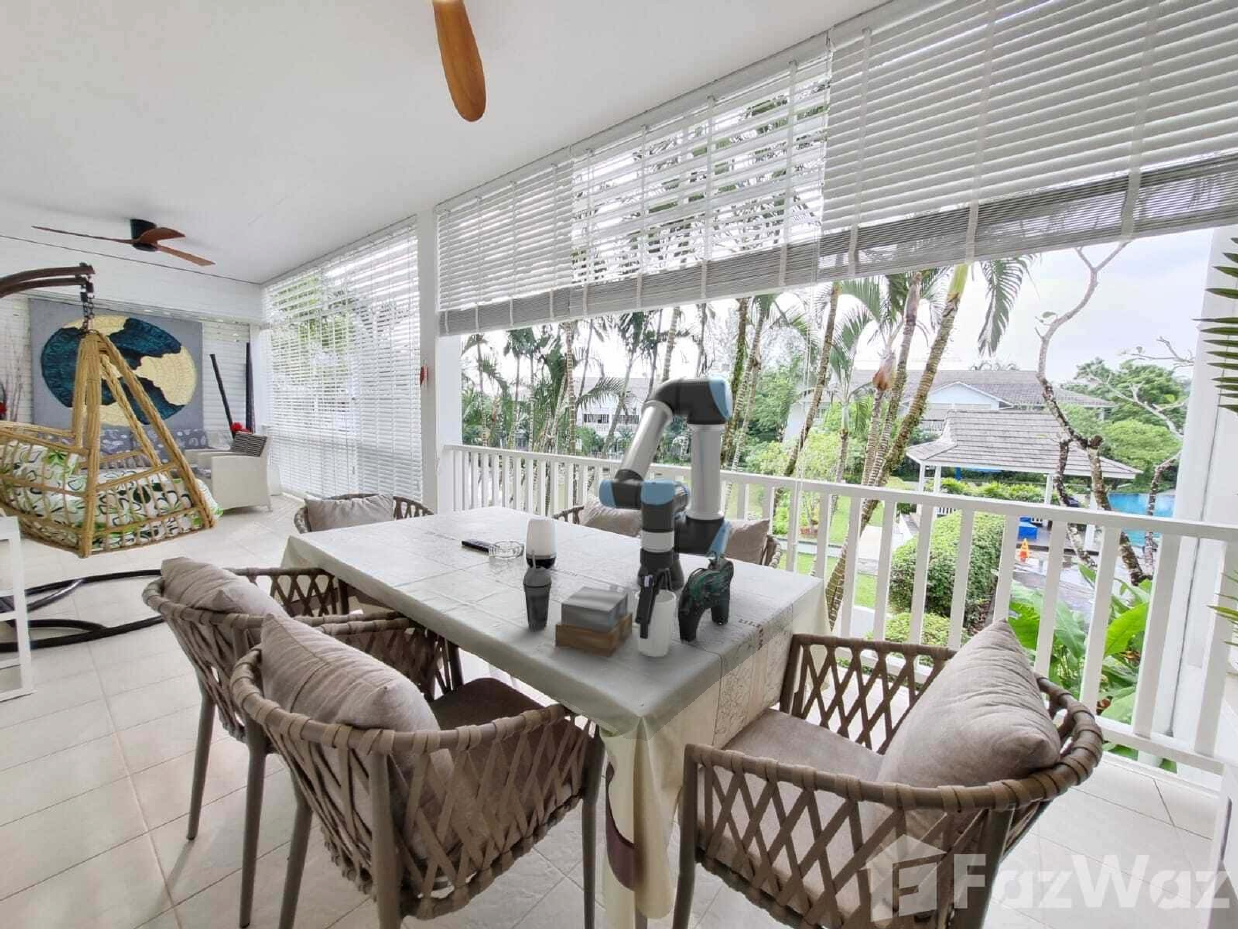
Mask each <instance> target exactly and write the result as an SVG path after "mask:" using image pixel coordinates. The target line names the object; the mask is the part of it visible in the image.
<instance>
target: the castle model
mask: <svg viewBox="0 0 1238 929" xmlns="http://www.w3.org/2000/svg"><path fill="white" fill-rule="evenodd" d="M618 588H619V586H618V584H610V586H609V591H615V592H618ZM621 593H628V609H627V611H629V612H633V618H632V627H638V624H637V623H635V618H636V607H635V595H634V589H633V588H632V587H630V586H629V585H628V586H625V587H624V588H623V590H622V591H621Z"/></svg>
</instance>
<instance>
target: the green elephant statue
mask: <svg viewBox="0 0 1238 929" xmlns="http://www.w3.org/2000/svg"><path fill="white" fill-rule="evenodd" d="M712 552H714V553H715V556H716V558H710V557H709V555H710V553H712ZM707 557H708V561H709V562H708V565H707V567H706V568H705V567H704V568H703V567H698V568H696V569H694V570H693V571H692V572H691V573H689V576H688V578H687V581H686V582H685V583H684V585H683V588H682V591H681V593H680V597H679V601H678V603H677V604H678V606H677V620H678V628H679V639H680V640H681V641H683V642H686V643H691V642H694V641H695V640H696V639H697V635H698V634H697V633H698V628H699V623H700V621H701V618H702V616H703V615H704V613H705V612H706V611H707V610H709V609H710V614H711V615H710V616H711V617H710V618H711V621H712V622H713V621H714V623H715V622H716V624H718V623H721V624H722V625H723V623H724V624H725V623H727V622H728V621H729V616H730V615H729V614H730V601H731V582H732V580H733V577H734V575H735V574H734V573H735V567H734V566H735V565H734V563H733V561H731V560H729V559H727V558H726V557H725V556H724V553H723V554H722V553H721V556H720V557H719V558H717V554H716V552H715V551H709V552H708V554H707ZM726 621H727V622H726ZM721 624H720V625H721Z"/></svg>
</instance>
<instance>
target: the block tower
mask: <svg viewBox="0 0 1238 929" xmlns="http://www.w3.org/2000/svg"><path fill="white" fill-rule="evenodd" d="M560 605H561V606H560V607H561V608H560V609H561V610H560V613H561V614H560V620H559V621H558V622H557V623H555V627H554V629H555V630H554V632H555V633H554V634H555V635H554V637H555V638H554V639H555V640H554V641H555V642H554V644H555V646H557V647H562V648H566V647H567V648H566V649H570V650H571V649H572V650H575V651H576V650H577V651H580V650H581V651H580V652H584V653H585V652H586V653H590V654H595V655H600V656H604V657H608V658H611V657H612V656H613V655H614V654H615V653H616V651H617V650H618V649H619V648H620V647H621V646H622V644H623V643H624V642H625V641H626V640H627V638H628V637H629V636H630V635H631V634H632V633H633V626H632V622H633V621H632V618H633V612H629V611H627V609H628V593H622V591H617V592H615V591H610V589H609V590H608V589H607V590H606V589H604V588H603V589H601V588H596V587H589V586H583V587H581V588H580V589H579V590H577V591H575V592H574V593H573V594H571V595H570V596H568V598H566V599H565V600H563V601H562V602H561V604H560Z"/></svg>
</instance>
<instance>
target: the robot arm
mask: <svg viewBox="0 0 1238 929" xmlns="http://www.w3.org/2000/svg"><path fill="white" fill-rule="evenodd" d="M733 401H734V399H733V392H732V389H731V385H730V382H729V381H728V380H727V379H726V378H724V377H717V376H716V377H715V376H708V377H702V376H701V377H673V378H670V379H667V380H666V381H663V382H662V383H660V384H659V385H658V386H657V387H656V388H654V389H653V390H651V392H650V393H649V395H648V396H647V397H646V398H645V400H644V401H643V404H642V405H641V409H640V414H641V417H640V419H639V420H638V423H637V426H636V428H635V430H634V433H633V435H632V437H631V440H630V442H629V444H628V446H627V448H626V450H625V453H624V454H623V455H624V456H623V457H622V459H621V461H620V464H619V466H618V468H617V471H616V473H615V475H614V477H605V478H603V479H602V481H601V482H600V483H599V488H598V500H599V502H600V504H601V505H602V506H603V507H606V508H611V509H616V510H627V511H628V510H629V511H640V531H638V536H640V542H639V543H640V544H639V546H641V548H640V549H639V564H640V565H639V569H638V571H637V574H636V583H637V584H638V585H639V586H640V590H639V591H640V595H639V602H638V608H637V614H636V618H635V621H634V622H635V623H638V624H639V632H638V651H639V652H641V651H644V652H648V653H651V646H652V622H651V617H652V613H653V608H654V604H655V599H656V595H658V594H659V591H660V589H663V590H668V591H670V592H673V590H677V589H680V588H681V586H682V585H683V586H684V585H685V574H684V571H683V568H682V564H681V561H680V554H681V555H690V556H697V557H704V558H708V559H709V558H711V559H714V558H716V556H715V553H714V552H712V553H710V555H709V557H707V554H708V552H709V551H715V552H716V554H717V558H719V557H720V556H721V553H722V554H723V555H724V553H725V550H726V548H727V544H728V541H729V536H730V530H731V529H730V528H731V526H730V525H731V522H730V521H729V520H727V519H725V513H724V512H723V511H722V509H720V495H721V494H720V493H721V492H720V490H721V489H720V487H721V485H720V484H721V483H720V482H721V452H722V451H721V448H722V445H721V444H722V443H721V442H722V429H723V428H724V427H725V426H726V425H727V419H731V418H732V416H733V412H734V411H733V410H734V402H733ZM674 418H686V420H685V421H686V425H687V427H688V428H690V432H691V433H690V434H691V444H690V445H691V446H690V449H691V450H690V454H691V457H690V458H691V459H690V488H689V487H688V486H687V485H686V484H685V483H684V482H682V481H679V480H675V481H674V480H672V479H669V478H661V477H660V478H658V477H657V478H654V477H653V478H647V479H646V477H647V475H648V472H649V469H650V466H651V465H652V462H653V460H654V457H655V455H656V452H657V449H658V447H659V445H660V442H661V440H662V438H663V434H664V432H665V430H666V426H668V425H670V424H671V423H672V421H673V419H674ZM689 504H690V508H688V509H687V510H686V511H685V515H682V511H684V510H685V509H686V508H687V507H688V505H689ZM683 586H682V587H683ZM679 587H680V588H679ZM672 589H673V590H672ZM673 593H674V592H673ZM642 617H643V618H642Z"/></svg>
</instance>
